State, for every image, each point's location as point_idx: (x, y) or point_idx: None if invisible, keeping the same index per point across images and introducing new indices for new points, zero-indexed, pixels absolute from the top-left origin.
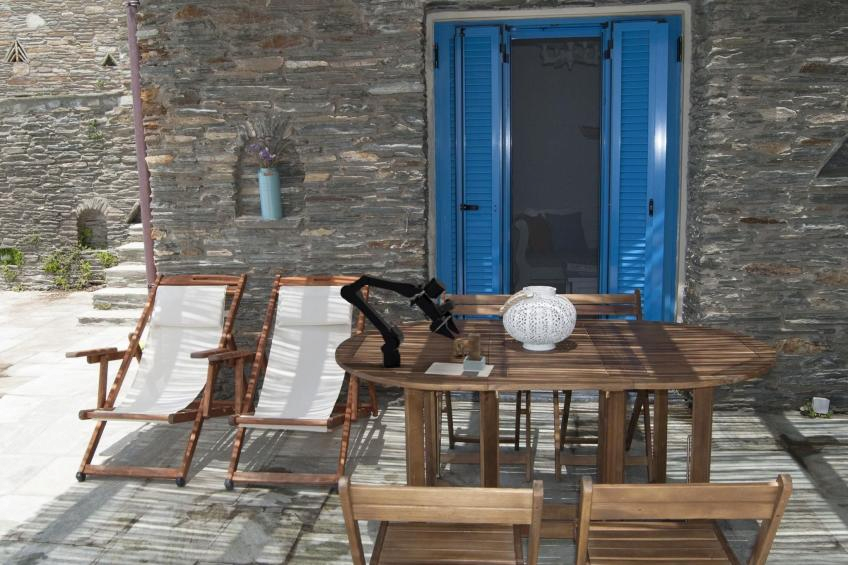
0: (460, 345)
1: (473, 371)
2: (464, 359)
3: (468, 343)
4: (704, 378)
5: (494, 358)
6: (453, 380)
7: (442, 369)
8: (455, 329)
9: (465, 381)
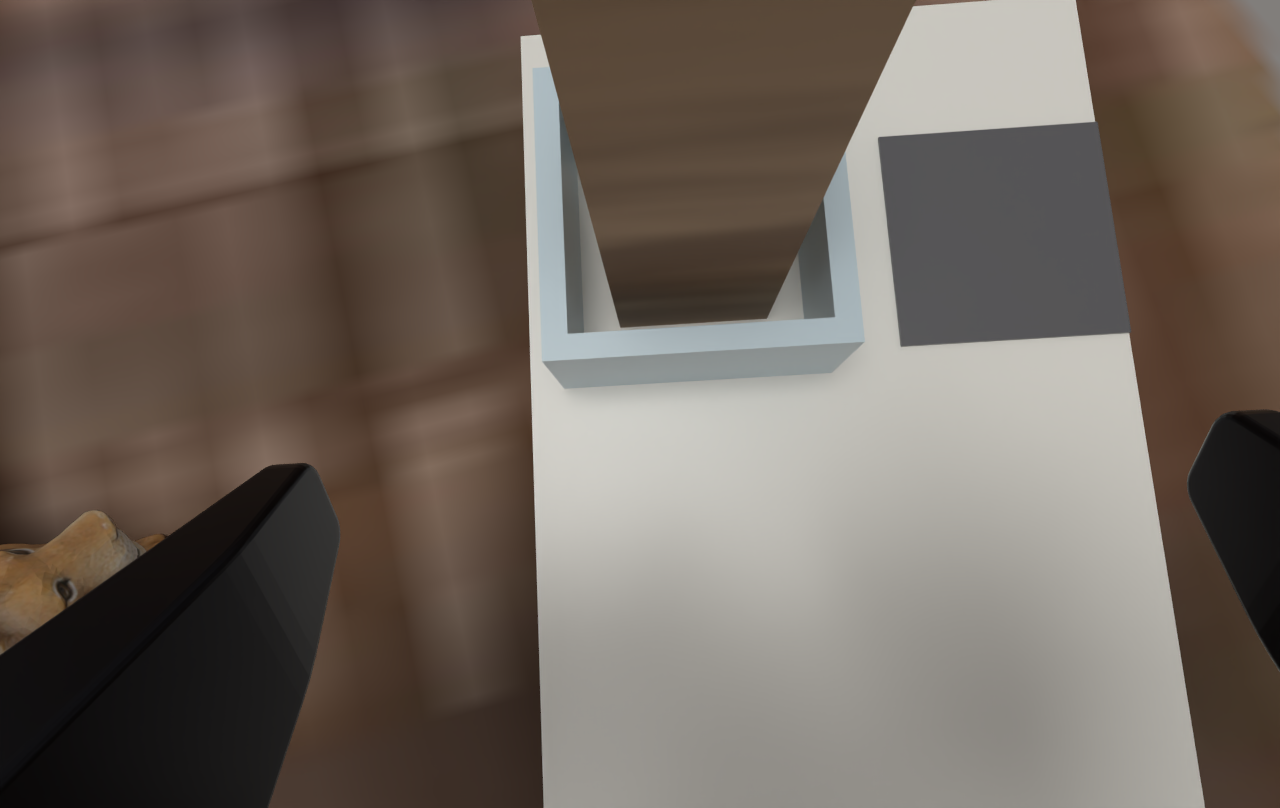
0: (100, 580)
1: (897, 214)
2: (782, 343)
3: (852, 122)
4: None
5: (71, 156)
6: (1253, 407)
7: (916, 677)
8: (227, 670)
9: (1239, 246)
